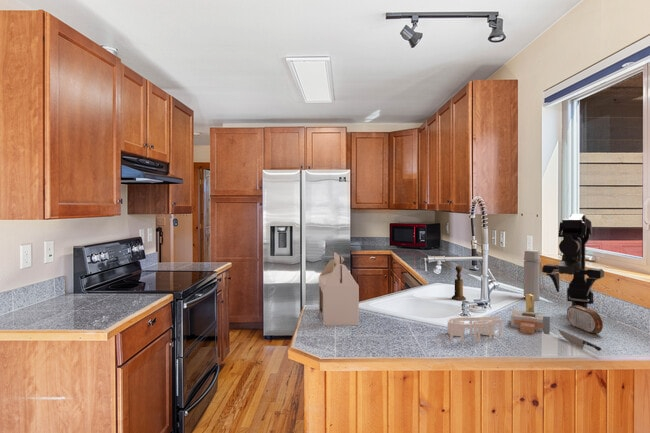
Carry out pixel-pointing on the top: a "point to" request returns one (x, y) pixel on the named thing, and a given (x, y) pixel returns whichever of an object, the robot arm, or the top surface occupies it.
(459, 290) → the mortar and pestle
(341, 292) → the gable box
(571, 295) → the robot arm
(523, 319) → the clevis bracket
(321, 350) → the top surface
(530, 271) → the water bottle
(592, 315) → the tin
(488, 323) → the car outline toy
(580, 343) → the chef's knife
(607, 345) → the top surface
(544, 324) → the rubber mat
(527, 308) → the brass pin
